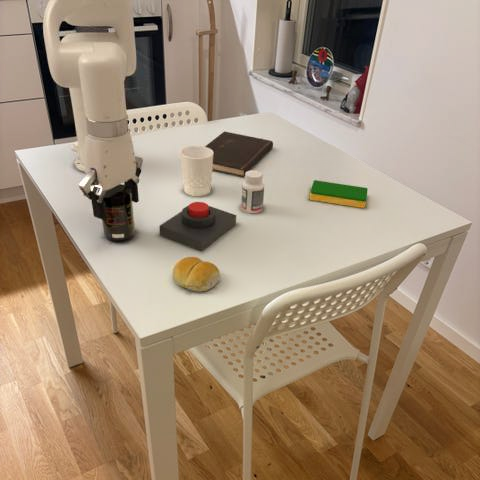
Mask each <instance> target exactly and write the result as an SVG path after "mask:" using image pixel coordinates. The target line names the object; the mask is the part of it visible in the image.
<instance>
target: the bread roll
mask: <svg viewBox="0 0 480 480" xmlns="http://www.w3.org/2000/svg"><path fill="white" fill-rule="evenodd" d="M172 276H173V277H172V279H173V281H174V282H175V283H176V284H177V286H179V287H181V288H183V289H184V288H186V289H187V290H189V291H192V292H205V291H209V290H210V289H211V288H213V287H215V286H216V285H217V284H218V282H219V281H220V279H221V274H220V269H219V268H218V266H216V264H214V263H212V262H209V261H203V260H202V259H201V258H199V257H197V256H186V257H184V258H181V259H180V260H178V261H177V262H176V263H175V264H174V267H173V271H172Z"/></svg>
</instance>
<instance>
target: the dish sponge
mask: <svg viewBox="0 0 480 480" xmlns="http://www.w3.org/2000/svg"><path fill="white" fill-rule="evenodd" d="M367 198H368V187H365V186H364V187H363V186H357V185H351V184H344V183H343V184H342V183H337V182H336V183H335V182H329V181H323V180H317V179H316V180H315V179H314V180H313V181H312V185H311V188H310V193H309V200H310V201H315V202H321V203H329V204H334V205H342V206H347V207H348V206H349V207H354V208H359V209H360V208H361V209H365V208H366V204H367Z"/></svg>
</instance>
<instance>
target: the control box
mask: <svg viewBox="0 0 480 480" xmlns="http://www.w3.org/2000/svg"><path fill="white" fill-rule="evenodd" d="M208 206H209V215H208V216H207V217H202V218H195V217H192V216H190V215H189V205H187V206H185V207H183V208H182V209H181V211H179V212H177V214H175V215H174V216H172V217H171V218H169V219H167V220H166V221H164V222H163V223H162V224H160V225H159V236H160V237H162V238H165V239H167V240H171V241H173V242H176V243H179V244H181V245H184V246H186V247H189V248H192V249H194V250H197V251H199V252H203V251H205V249H206V248H208V247H209V246H210V245H211V244H213V243H214V242H215V241H217V240H218V239H219V238H221V237H222V236H223V235H224V234H226V233H227V232H228V231H229V230H231V229H232V228H234V227H235V226H236V225H237V214H234V213H231V212H228V211H226V210H222V209H219V208H217V207H213V206H210V205H208Z"/></svg>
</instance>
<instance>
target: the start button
mask: <svg viewBox="0 0 480 480" xmlns="http://www.w3.org/2000/svg"><path fill="white" fill-rule="evenodd" d="M188 206H189V215H190V216H192V217H195V218H202V217H207V216H208V215H209V206H210V205H209V204H208V203H206V202H204V201H194V202H191V203H189V204H188Z"/></svg>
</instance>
